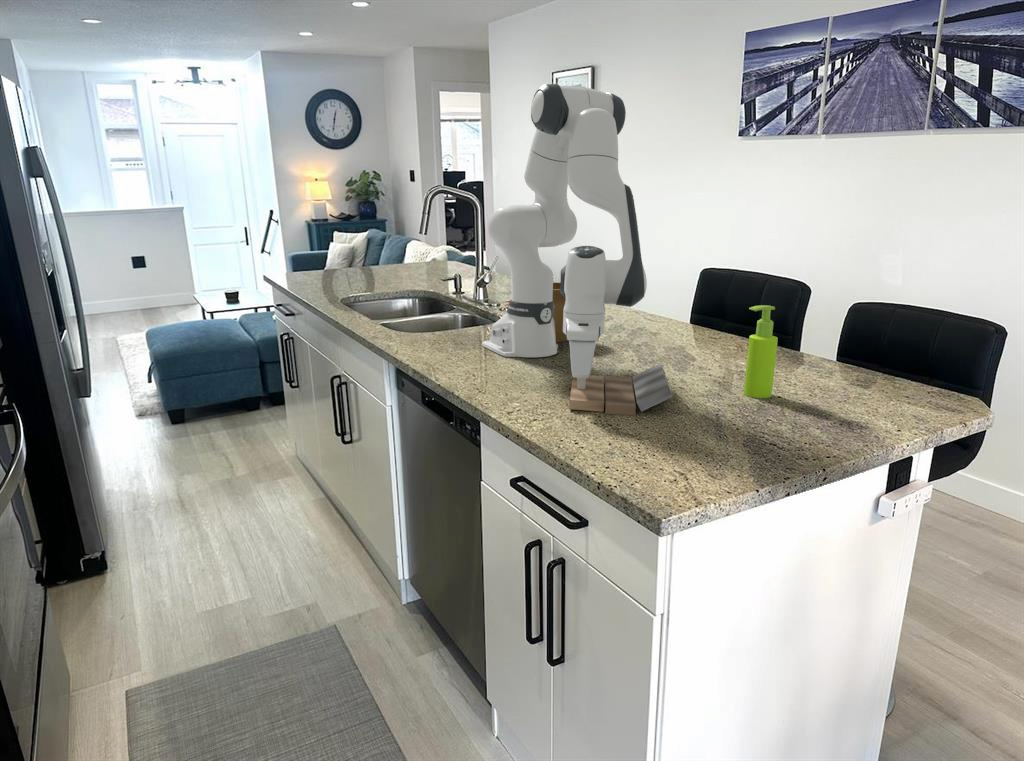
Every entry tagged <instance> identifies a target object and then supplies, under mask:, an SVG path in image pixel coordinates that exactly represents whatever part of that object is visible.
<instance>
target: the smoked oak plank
mask: <svg viewBox="0 0 1024 761" xmlns="http://www.w3.org/2000/svg"><path fill="white" fill-rule="evenodd" d="M604 382H605V375H604V376H602V375H591V374H590V377H589V378H586V386H585V389H578V388H577V378H575V377H573V376H572V380H571V388H570V394H569V395H570V397H569V408H568V409H569V410H574V411H575V410H577V411H586V412H587V411H589V412H601V413H602V412H604V411H605V388H604ZM604 413H605V412H604Z"/></svg>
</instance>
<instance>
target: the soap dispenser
mask: <svg viewBox="0 0 1024 761" xmlns="http://www.w3.org/2000/svg"><path fill="white" fill-rule="evenodd" d="M748 309H749V310H751V311H754V312H758V311H762V312H761V313H762V314H761V318H759V320H757V322H756V330H755V334H751V335H749V337H748V338H749V339H748V348H747V349H748V350H747V357H746V369H745V377H744V385H743V386H744V387H743V395H745V396H746V397H750V398H753V399H755V398H756V399H768V398H771V397H772V394H773V393H772V392H773V385H774V384H773V383H774V375H775V367H776V360H777V359H776V358H777V350H778V339H779V338H778V337H777V336H774V335H773V330H774V321H773V320H772V319H771V311H773V310H774V311H775V310H776V306H773V305H772V306H771V305H768V304H767V305H764V304H760V305H758V304H757V305H754V306H751V307H749V308H748Z"/></svg>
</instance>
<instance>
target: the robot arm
mask: <svg viewBox="0 0 1024 761" xmlns="http://www.w3.org/2000/svg"><path fill="white" fill-rule="evenodd" d="M626 110H627V109H626V106H625V103H624V101H623V99H622V98H621V97H620V96H618V95H616V94H614V93H612V92H608V91H607V92H604V91H601V90H598V89H594V88H591V87H586V86H572V85H559V83H547V84H542V85H541V86H540V87H539V88H538V89H537V90H536V92H535V93H534V95H533V99H532V103H531V107H530V118H531V122H532V124H533V126H534V127H535V128H536V129H535V133H534V136H533V138H532V142H531V146H530V150H529V154H528V158H527V163H526V165H525V166H526V167H525V171H524V176H523V177H524V181H525V183H526V186H527V187H528V188H529V189H530V190H531V191H533V193H534V200H533V203H532V204H523V205H522V204H516V205H515V204H513V205H508V206H504V207H501V208H497V209H495V210H494V211H493V212H492V214H491V215H490V218H489V220H488V225H487V230H488V235H489V237H490V238H489V239H491V241H492V243H493V244H494V245H495V246H497V248H499V249H500V251H502V253H503V254H504V256H505V258H506V261H507V262H508V267H509V271H510V280H511V283H510V284H511V296H510V297H511V299H510V300H507V301H505V304H504V306H507V310H506V313H505V314H504V315H503V316H502V317H500V318H499V319H498V320H497V321H495V322H494V323H493V324H492V326H491V328H490V336H489V337H490V339H486V340H484V341H482V343H481V347H484V348H485V349H488V350H490V351H492V352H494V353H496V354H498V355H500V356H502V357H506V358H507V357H509V358H511V357H512V358H513V357H515V358H516V357H519V358H544V357H551V356H554V355H556V354H557V353H558V349H559V345H558V343H557V342H556V336H555V322H554V319H553V314H554V308H555V306H554V301H553V282H554V273H553V271H552V270H553V269H552V268H551V267H549V265H547V264H546V263H544V262H543V261H542V260H541V258H540V255H539V254H540V253H539V248H554V247H555V248H556V247H558V246H561V245H564V244H568V243H570V242H571V241H572V240H573V239H574V237H575V236H576V233H577V230H578V220H577V216H576V215H575V213H574V211H573V210H572V208H570V205H569V203H568V202H569V201H568V187H569V189H570V190H571V192H572V193H573V195H575V196H576V197H577V198H578V199H580V200H581V201H583V202H584V203H585V204H588V205H591V206H593V207H596V208H597V209H601V210H602V211H604V212H607V213H608V214H610V215H611V216H613V217H614V218H615V220H616V221H617V224H618V227H619V228H618V229H619V236H620V237H619V238H620V244H621V251H622V257H621V258H620V259H612V260H611V259H606V253H605V251H604V249H602V248H601V247H597V246H593V245H580V246H575V247H572V248H571V249H570V250H569V251H568V254H567V258H566V263H565V265H564V266H563V267H562V268H561V269H560V293H561V294H562V295H563V296H564V297H565V298H566V301H565V305H564V310H563V333H565V334H566V336H567V341H568V344H569V356H570V367H571V368H570V369H571V375H572V378H573V377H575V378H577V388H578V389H585V386H586V378H589V377H590V375H591V372H592V368H593V361H594V357H595V356H594V355H595V351H596V350H595V349H596V345H597V342H599V339H600V337H601V336H602V335H604V334H605V327H606V326H605V325H606V305H616V306H619V307H628V308H629V307H630V308H631V307H633V306H635V305H637V304H638V303H639V302H640V301H641V300H643V299H644V298H645V294H646V292H647V288H648V287H647V284H648V282H647V281H648V279H647V274H646V270H645V267H644V264H643V260H642V259H643V258H642V251H641V243H640V233H639V225H638V219H637V217H638V216H637V213H636V205H635V199H634V195H633V192H632V189H631V187H630V186H629V185H627V184H625V183H624V181H623V180H622V177H621V175H620V172H619V140H618V139H619V138H618V135H619V134H620V133H621V132H622V130H623V128H624V125H625V122H626V116H627V115H626V114H627V113H626Z"/></svg>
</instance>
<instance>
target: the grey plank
mask: <svg viewBox="0 0 1024 761" xmlns="http://www.w3.org/2000/svg"><path fill="white" fill-rule="evenodd" d="M666 374H667V373H666V372H665V369H664V368H663V366H662V364H661V363H658V364H656V365H654V366H652V367H650V368H648V369H646V370H644V371H642V372H640V373H638V374H636V375H633V376H631V379H632V384H633V390H634V396H635V402H636V405H637V406H638V408H639V410H640V412H641V413H642V412H644V411H646V410H648V409H650V408H651V407H654V406H656V405H658V404H661V403H662V402H664V401H667V400H669V399H671V398H673V396H674V395H673V393H672V390H671V387H670V386H671V385H670V384H669V379H668V378H667V375H666Z"/></svg>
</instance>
